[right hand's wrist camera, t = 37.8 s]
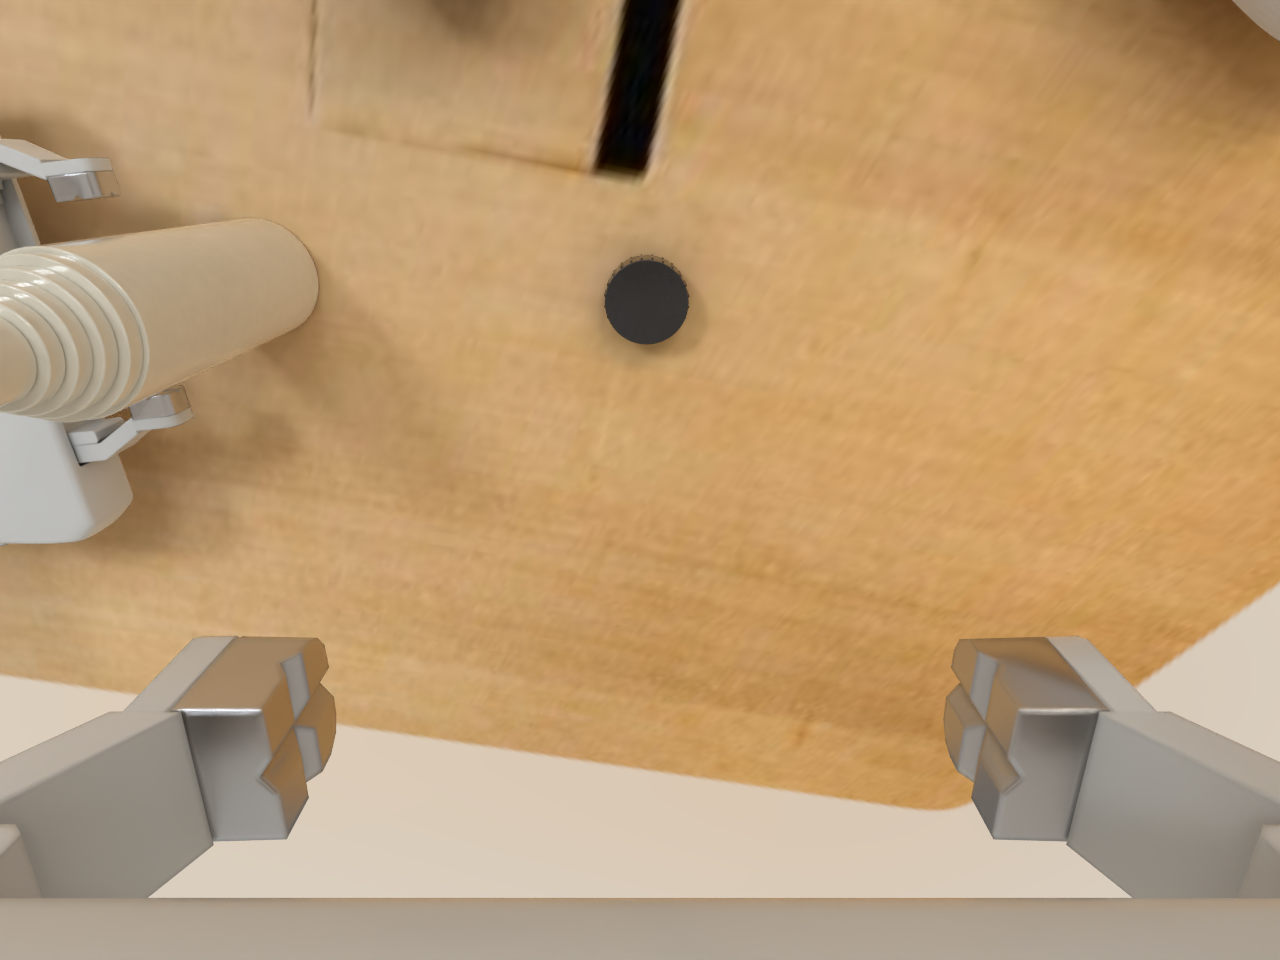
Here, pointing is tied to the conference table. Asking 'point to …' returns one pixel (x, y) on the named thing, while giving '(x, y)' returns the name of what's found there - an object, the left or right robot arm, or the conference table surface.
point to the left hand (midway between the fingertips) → (147, 296)
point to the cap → (646, 299)
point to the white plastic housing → (1263, 14)
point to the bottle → (142, 312)
